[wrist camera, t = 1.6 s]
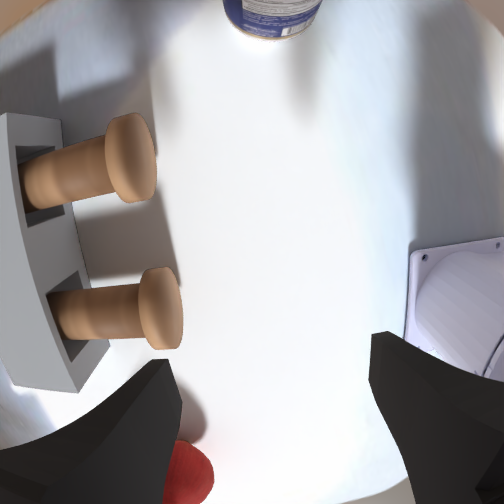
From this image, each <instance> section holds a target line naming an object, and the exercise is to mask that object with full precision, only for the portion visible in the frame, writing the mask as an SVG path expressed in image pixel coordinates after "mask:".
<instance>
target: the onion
mask: <svg viewBox="0 0 504 504" xmlns="http://www.w3.org/2000/svg"><path fill="white" fill-rule="evenodd" d="M213 484H214V471H213V467H212V465H211V462H210V460H209V459H208V458H207V457H206V456H205V455H204V454H203V453H202V452H201V451H200V450H198V449H197V448H195V447H194V446H193V445H191V444H190V443H189V442H187V441H184V440H176V441H175V445H174V449H173V453H172V456H171V460H170V464H169V467H168V471H167V475H166V480H165V486H164V494H163V502H162V504H200V503H202V502H203V501H204V500H205V499H206V497H207V496H208V494H209V493H210V491H211V490H212V487H213Z"/></svg>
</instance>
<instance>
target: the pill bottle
mask: <svg viewBox="0 0 504 504" xmlns="http://www.w3.org/2000/svg"><path fill="white" fill-rule="evenodd" d="M321 2H322V0H223V4H224V9H225V12H226V15H227V18H228V20H229V21H230V23H231V24H232V25H233V27H234V28H236V29H237V30H238V31H239V32H240V33H242V34H244V35H245V36H247V37H250V38H252V39H256V40H260V41H266V42H279V41H285V40H289V39H292V38H294V37H296V36H298V35H300V34H301V33H303V32H304V31H305V30H306V29H307V28H308V27H309V26H310V25H311V23H312V21H313V20H314V18H315V15H316V13H317V11H318V9H319V7H320V4H321Z"/></svg>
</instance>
